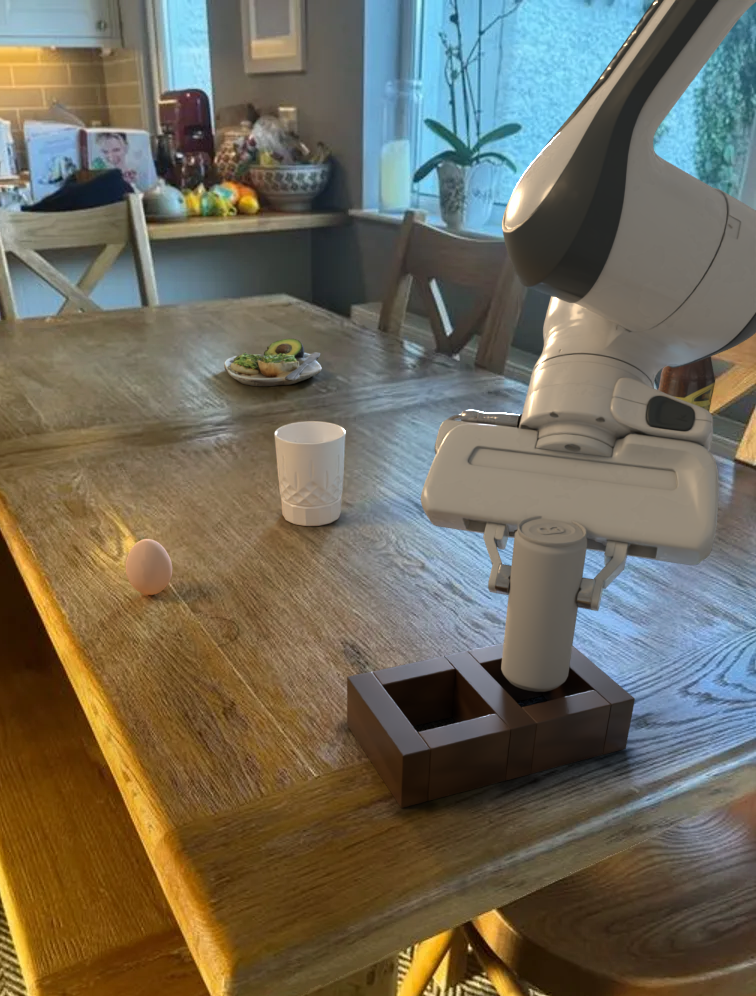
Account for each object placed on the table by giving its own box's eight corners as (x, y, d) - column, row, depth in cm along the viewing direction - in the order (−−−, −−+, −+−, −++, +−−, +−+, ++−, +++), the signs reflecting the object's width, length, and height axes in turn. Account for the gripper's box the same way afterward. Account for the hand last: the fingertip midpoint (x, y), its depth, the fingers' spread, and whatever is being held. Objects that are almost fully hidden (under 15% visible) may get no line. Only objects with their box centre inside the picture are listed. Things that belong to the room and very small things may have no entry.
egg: (180, 584, 90) (175, 532, 88) (165, 605, 87) (159, 552, 84) (139, 580, 91) (133, 529, 89) (121, 601, 88) (114, 548, 85)
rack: (550, 677, 74) (556, 631, 72) (626, 749, 66) (635, 698, 64) (346, 725, 69) (346, 676, 67) (401, 808, 61) (403, 756, 59)
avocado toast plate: (338, 386, 152) (338, 359, 149) (232, 394, 149) (231, 366, 147) (316, 358, 168) (316, 333, 166) (221, 365, 166) (219, 340, 164)
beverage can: (578, 691, 65) (601, 540, 59) (514, 699, 64) (531, 546, 58) (551, 656, 69) (570, 511, 63) (491, 662, 68) (504, 517, 63)
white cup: (286, 500, 109) (283, 419, 104) (350, 504, 107) (350, 422, 103) (270, 526, 102) (266, 441, 97) (339, 531, 101) (338, 445, 96)
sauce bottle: (689, 487, 109) (722, 319, 100) (637, 478, 113) (664, 314, 103) (701, 470, 114) (734, 308, 105) (651, 462, 117) (678, 304, 108)
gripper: (438, 386, 67) (391, 559, 64) (738, 415, 59) (702, 613, 56) (450, 427, 72) (408, 587, 69) (726, 458, 65) (693, 639, 62)
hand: (542, 599), depth 63 cm, fingers closed on beverage can, 5 cm apart
